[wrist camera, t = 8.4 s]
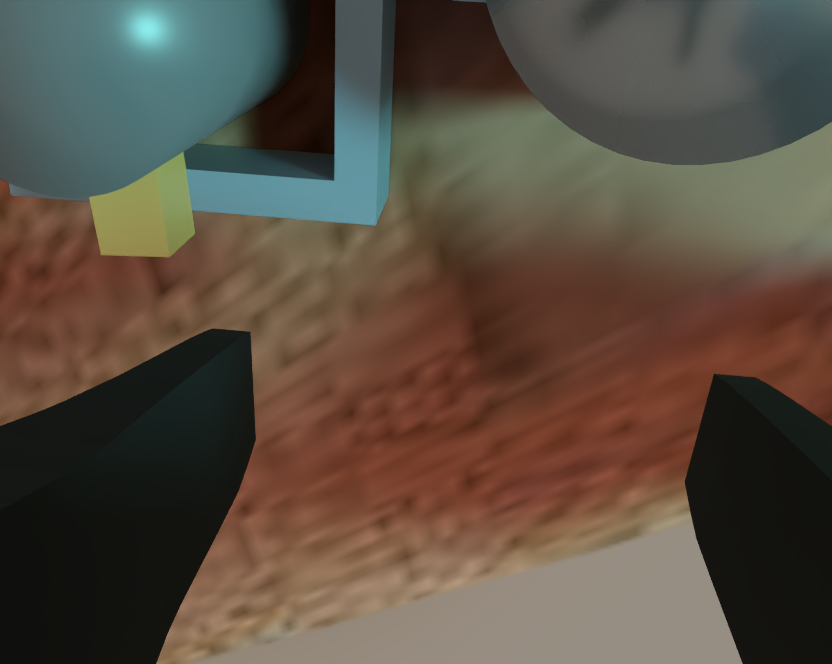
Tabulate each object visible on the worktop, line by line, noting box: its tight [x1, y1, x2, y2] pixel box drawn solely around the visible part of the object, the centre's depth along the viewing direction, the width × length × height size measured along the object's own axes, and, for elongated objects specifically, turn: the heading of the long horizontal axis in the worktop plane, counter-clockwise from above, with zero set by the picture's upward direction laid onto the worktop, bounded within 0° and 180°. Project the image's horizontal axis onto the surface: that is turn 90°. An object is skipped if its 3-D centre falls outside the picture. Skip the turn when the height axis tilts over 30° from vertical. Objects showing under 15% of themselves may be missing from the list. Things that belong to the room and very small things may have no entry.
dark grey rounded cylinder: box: [0, 0, 310, 257], centre depth 15 cm, size 5×6×8 cm
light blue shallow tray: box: [9, 0, 396, 225], centre depth 17 cm, size 9×9×2 cm
